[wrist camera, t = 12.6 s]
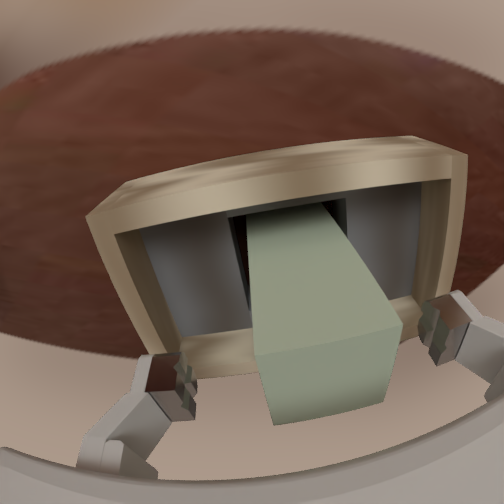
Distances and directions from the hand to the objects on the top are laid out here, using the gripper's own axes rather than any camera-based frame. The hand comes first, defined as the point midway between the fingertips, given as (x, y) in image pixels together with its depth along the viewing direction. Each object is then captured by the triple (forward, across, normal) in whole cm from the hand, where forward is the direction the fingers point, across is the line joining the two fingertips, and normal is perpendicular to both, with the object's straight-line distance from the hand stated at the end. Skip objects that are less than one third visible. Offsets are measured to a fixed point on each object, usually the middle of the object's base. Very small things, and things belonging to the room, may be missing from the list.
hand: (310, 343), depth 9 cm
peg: (+8, 0, +1) cm, 9 cm away
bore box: (+8, 0, 0) cm, 9 cm away
